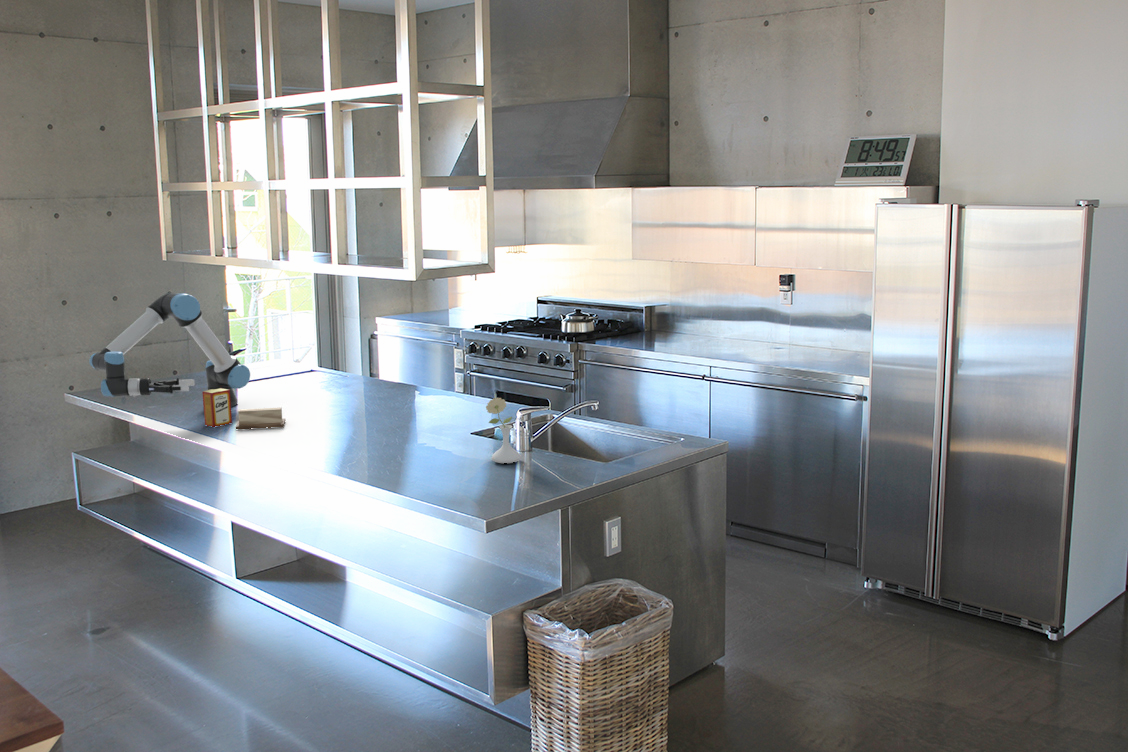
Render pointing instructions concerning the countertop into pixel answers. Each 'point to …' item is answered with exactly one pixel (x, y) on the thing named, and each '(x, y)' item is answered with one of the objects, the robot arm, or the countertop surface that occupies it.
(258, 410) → the ridge stand
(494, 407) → the flower in vase
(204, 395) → the baking soda box
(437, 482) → the countertop surface
